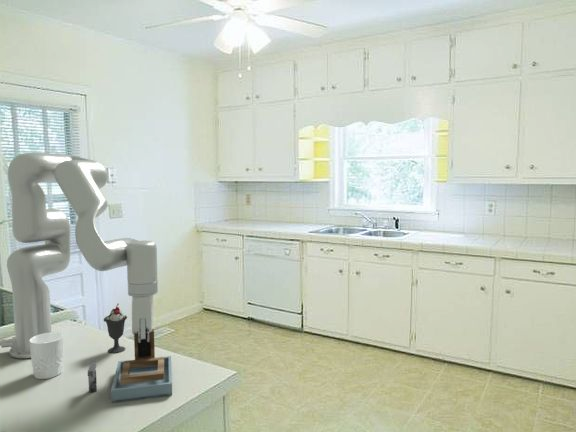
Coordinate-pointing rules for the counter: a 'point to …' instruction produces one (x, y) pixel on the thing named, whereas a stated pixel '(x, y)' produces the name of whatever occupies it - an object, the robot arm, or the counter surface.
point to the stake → (92, 377)
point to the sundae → (116, 328)
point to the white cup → (47, 355)
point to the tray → (142, 383)
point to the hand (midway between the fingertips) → (144, 354)
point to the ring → (143, 365)
